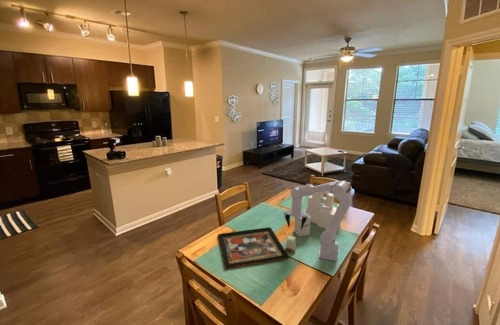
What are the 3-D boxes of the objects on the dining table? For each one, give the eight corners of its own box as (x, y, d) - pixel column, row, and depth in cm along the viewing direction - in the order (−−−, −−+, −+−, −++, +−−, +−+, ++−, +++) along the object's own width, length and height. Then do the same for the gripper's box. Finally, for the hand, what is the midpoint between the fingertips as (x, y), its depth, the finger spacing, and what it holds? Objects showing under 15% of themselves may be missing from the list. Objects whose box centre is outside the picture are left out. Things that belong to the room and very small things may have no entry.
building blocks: (340, 224, 169) (344, 191, 162) (333, 231, 161) (337, 196, 154) (311, 214, 183) (314, 183, 176) (304, 220, 174) (306, 188, 167)
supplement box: (300, 237, 154) (301, 219, 150) (293, 231, 161) (294, 213, 157) (310, 234, 157) (311, 217, 153) (303, 229, 163) (304, 212, 160)
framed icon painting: (267, 226, 167) (267, 223, 166) (294, 258, 135) (294, 254, 134) (212, 238, 154) (212, 234, 153) (227, 276, 122) (227, 271, 121)
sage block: (295, 245, 142) (295, 237, 141) (293, 249, 138) (293, 240, 137) (288, 244, 144) (288, 235, 142) (286, 247, 140) (286, 239, 139)
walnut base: (295, 248, 144) (296, 244, 143) (294, 254, 138) (294, 250, 138) (286, 246, 145) (286, 243, 144) (284, 252, 140) (285, 248, 139)
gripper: (309, 205, 144) (308, 226, 148) (285, 202, 149) (284, 222, 152) (308, 210, 138) (307, 232, 141) (283, 207, 142) (282, 227, 146)
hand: (295, 227), depth 146 cm, fingers open, 7 cm apart
